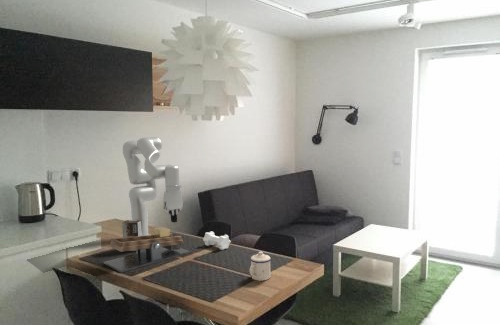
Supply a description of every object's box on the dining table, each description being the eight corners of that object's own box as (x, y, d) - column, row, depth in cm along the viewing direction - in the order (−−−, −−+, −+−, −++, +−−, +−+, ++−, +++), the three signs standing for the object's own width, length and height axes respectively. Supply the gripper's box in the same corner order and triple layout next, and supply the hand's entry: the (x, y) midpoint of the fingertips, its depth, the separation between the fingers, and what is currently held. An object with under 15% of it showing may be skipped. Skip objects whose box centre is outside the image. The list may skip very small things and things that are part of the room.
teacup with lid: (259, 272, 189) (258, 247, 188) (275, 276, 183) (274, 251, 182) (242, 280, 179) (242, 254, 178) (258, 284, 174) (258, 258, 173)
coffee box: (143, 247, 229) (142, 219, 228) (139, 251, 223) (137, 222, 221) (127, 247, 230) (126, 219, 229) (123, 251, 224) (121, 222, 222)
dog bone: (231, 249, 226) (231, 234, 226) (219, 251, 220) (220, 236, 220) (212, 244, 236) (213, 230, 236) (201, 246, 230) (202, 231, 230)
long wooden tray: (170, 244, 227) (171, 232, 227) (183, 249, 218) (183, 236, 218) (109, 252, 202) (110, 238, 202) (120, 258, 193) (121, 243, 193)
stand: (103, 263, 204) (102, 244, 203) (171, 246, 232) (170, 228, 231) (121, 272, 190) (120, 252, 189) (190, 253, 218) (190, 235, 217)
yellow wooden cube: (153, 239, 216) (154, 228, 216) (163, 238, 220) (163, 227, 220) (159, 241, 211) (160, 230, 211) (169, 240, 216) (170, 229, 216)
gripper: (180, 186, 226) (181, 218, 228) (156, 189, 216) (158, 223, 218) (188, 187, 221) (189, 220, 223) (164, 190, 211) (166, 225, 212)
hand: (174, 221), depth 220 cm, fingers closed
